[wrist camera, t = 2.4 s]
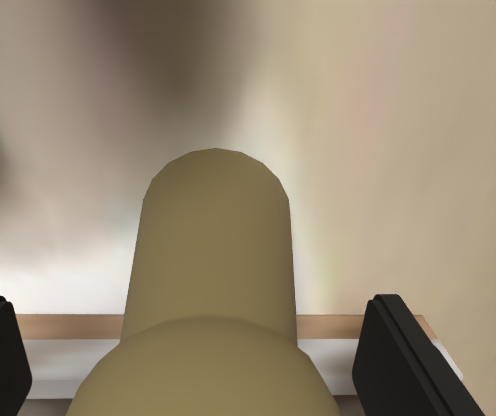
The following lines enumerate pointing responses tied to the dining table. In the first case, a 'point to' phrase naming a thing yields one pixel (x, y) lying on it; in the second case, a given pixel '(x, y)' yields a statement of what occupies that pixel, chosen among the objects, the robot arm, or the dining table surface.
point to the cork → (209, 303)
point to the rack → (108, 336)
